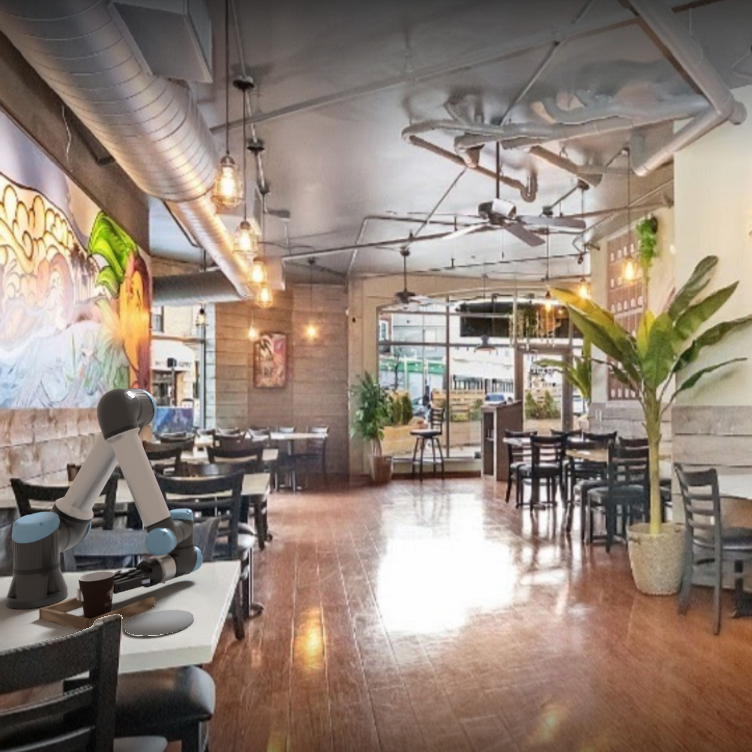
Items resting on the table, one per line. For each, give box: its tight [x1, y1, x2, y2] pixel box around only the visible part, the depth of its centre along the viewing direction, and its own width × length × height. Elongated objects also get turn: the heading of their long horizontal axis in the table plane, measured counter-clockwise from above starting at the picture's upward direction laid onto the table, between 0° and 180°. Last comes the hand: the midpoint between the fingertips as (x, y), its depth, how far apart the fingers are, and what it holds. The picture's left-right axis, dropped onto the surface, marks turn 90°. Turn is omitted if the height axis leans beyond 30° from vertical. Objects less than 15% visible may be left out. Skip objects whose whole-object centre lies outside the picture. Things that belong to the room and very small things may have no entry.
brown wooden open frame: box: [38, 596, 156, 631], centre depth 166 cm, size 19×20×2 cm
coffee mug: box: [78, 570, 115, 619], centre depth 166 cm, size 12×9×10 cm
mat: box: [123, 609, 195, 636], centre depth 156 cm, size 16×16×1 cm
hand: (79, 595), depth 162 cm, fingers closed
